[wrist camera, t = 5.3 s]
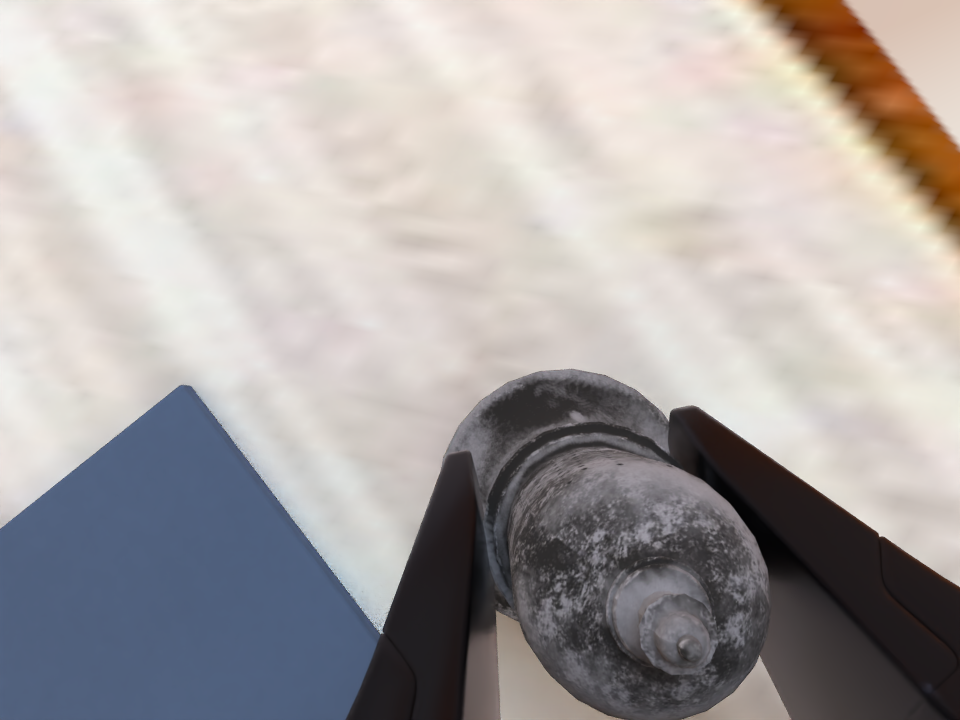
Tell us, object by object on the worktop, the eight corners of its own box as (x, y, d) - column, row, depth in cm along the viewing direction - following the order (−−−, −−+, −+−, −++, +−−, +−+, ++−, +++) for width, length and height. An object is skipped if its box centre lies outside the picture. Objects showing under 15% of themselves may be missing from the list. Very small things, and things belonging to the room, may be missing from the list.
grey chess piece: (582, 627, 16) (826, 1231, 4) (409, 508, 17) (190, 754, 5) (693, 451, 17) (1205, 550, 5) (521, 339, 17) (582, 165, 5)
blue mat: (107, 970, 17) (92, 991, 16) (-121, 633, 18) (-142, 641, 17) (431, 700, 17) (428, 711, 16) (190, 384, 18) (180, 383, 17)
